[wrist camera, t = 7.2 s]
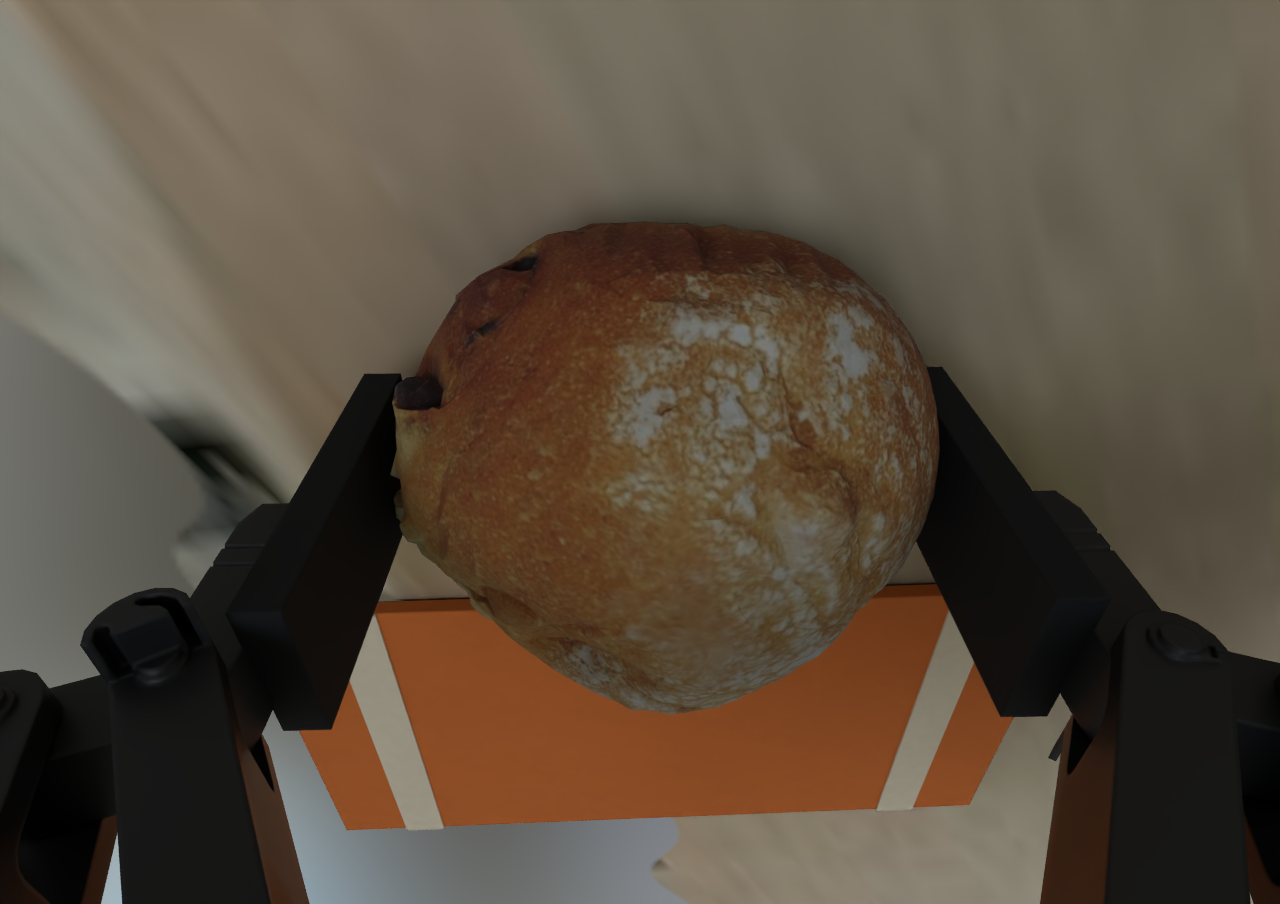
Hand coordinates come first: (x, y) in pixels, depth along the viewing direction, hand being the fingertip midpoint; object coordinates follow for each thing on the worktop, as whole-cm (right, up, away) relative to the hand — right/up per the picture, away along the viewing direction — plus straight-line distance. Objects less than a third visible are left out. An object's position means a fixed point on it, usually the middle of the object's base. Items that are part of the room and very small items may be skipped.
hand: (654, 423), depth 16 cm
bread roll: (0, 0, 0) cm, 0 cm away
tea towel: (0, -10, +9) cm, 13 cm away
